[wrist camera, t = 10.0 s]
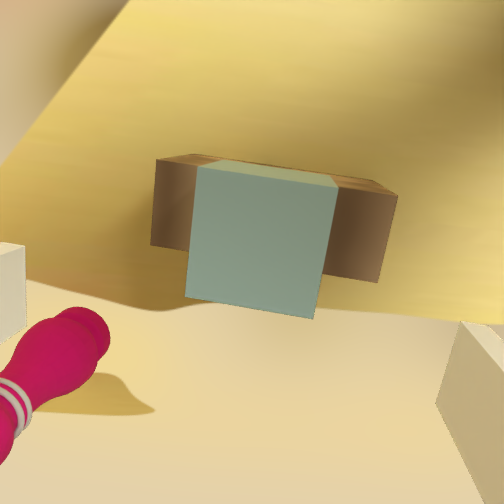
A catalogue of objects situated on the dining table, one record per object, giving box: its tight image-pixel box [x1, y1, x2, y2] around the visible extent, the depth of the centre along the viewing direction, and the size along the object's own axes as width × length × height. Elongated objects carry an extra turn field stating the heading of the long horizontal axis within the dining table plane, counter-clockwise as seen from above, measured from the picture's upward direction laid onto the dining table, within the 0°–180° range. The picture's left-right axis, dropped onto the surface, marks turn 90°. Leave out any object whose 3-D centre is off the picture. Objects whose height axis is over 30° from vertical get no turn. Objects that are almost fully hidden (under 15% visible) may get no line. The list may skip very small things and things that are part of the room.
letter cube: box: [185, 160, 339, 319], centre depth 25 cm, size 7×7×7 cm
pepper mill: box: [0, 307, 110, 465], centre depth 34 cm, size 7×7×20 cm
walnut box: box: [150, 154, 398, 283], centre depth 33 cm, size 16×6×10 cm, turn 82°
